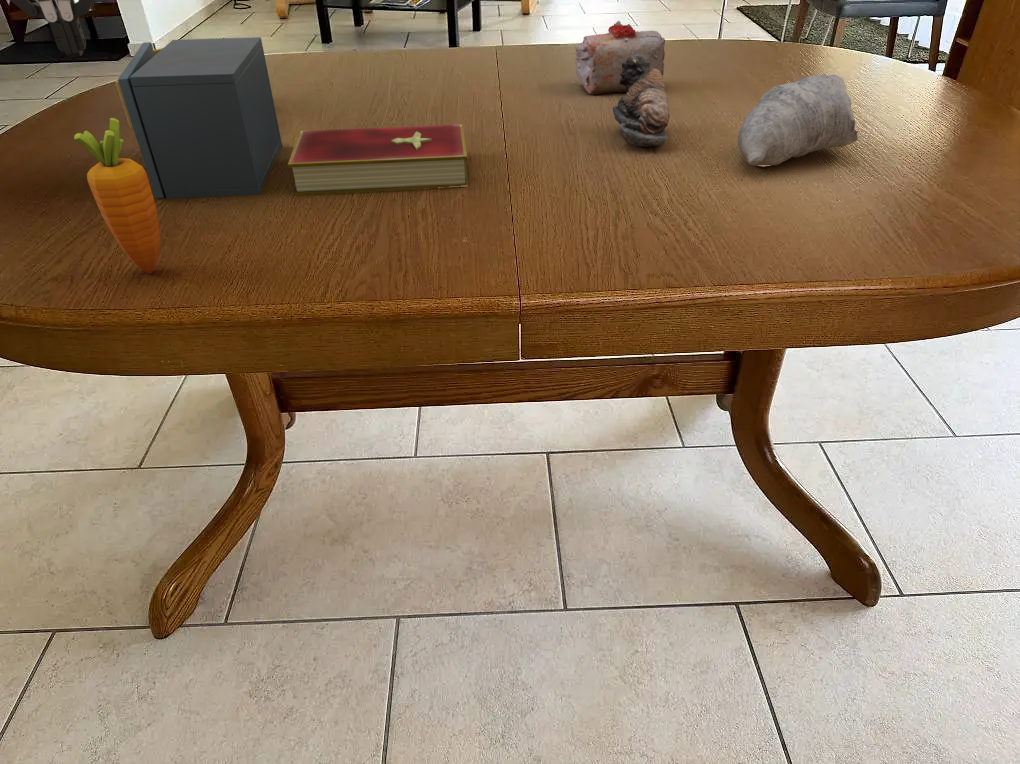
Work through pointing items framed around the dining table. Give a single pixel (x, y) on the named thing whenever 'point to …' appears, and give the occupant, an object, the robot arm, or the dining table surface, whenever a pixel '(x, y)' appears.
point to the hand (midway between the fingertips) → (75, 54)
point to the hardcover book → (379, 159)
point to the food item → (615, 56)
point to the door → (134, 114)
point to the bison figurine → (642, 103)
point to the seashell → (798, 121)
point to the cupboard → (209, 116)
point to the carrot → (124, 198)
